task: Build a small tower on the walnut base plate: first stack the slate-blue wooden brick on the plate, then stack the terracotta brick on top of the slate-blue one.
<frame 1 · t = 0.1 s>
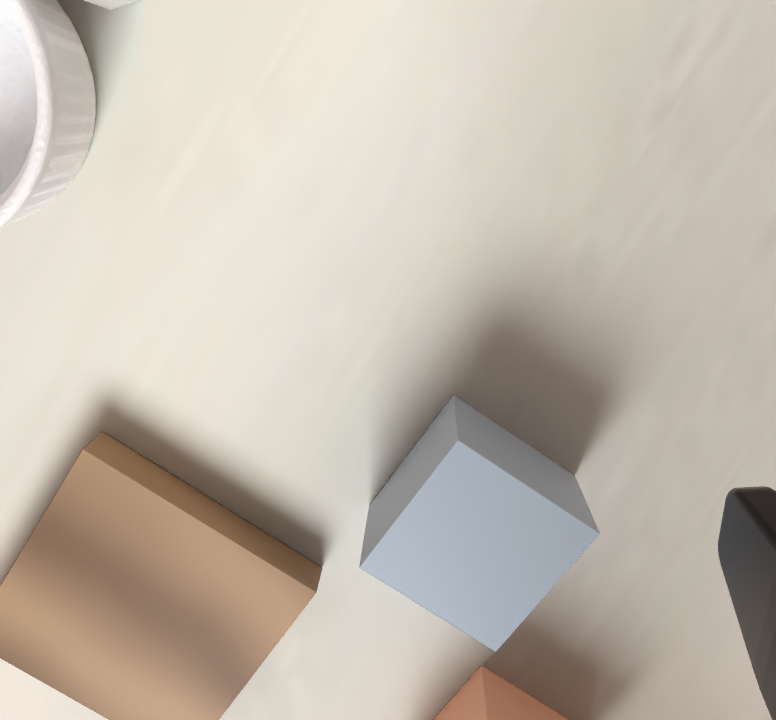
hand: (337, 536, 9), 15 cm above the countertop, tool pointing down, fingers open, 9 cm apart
slate brick: (470, 488, 26), on the countertop
base plate: (153, 591, 27), on the countertop
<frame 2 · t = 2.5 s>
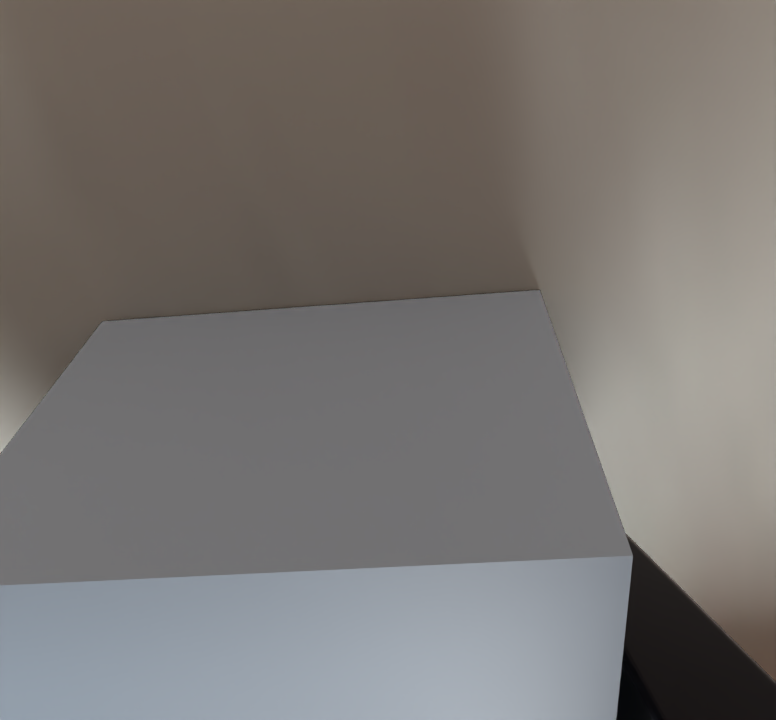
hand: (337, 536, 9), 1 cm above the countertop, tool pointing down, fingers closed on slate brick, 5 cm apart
slate brick: (343, 478, 10), on the countertop, touching gripper
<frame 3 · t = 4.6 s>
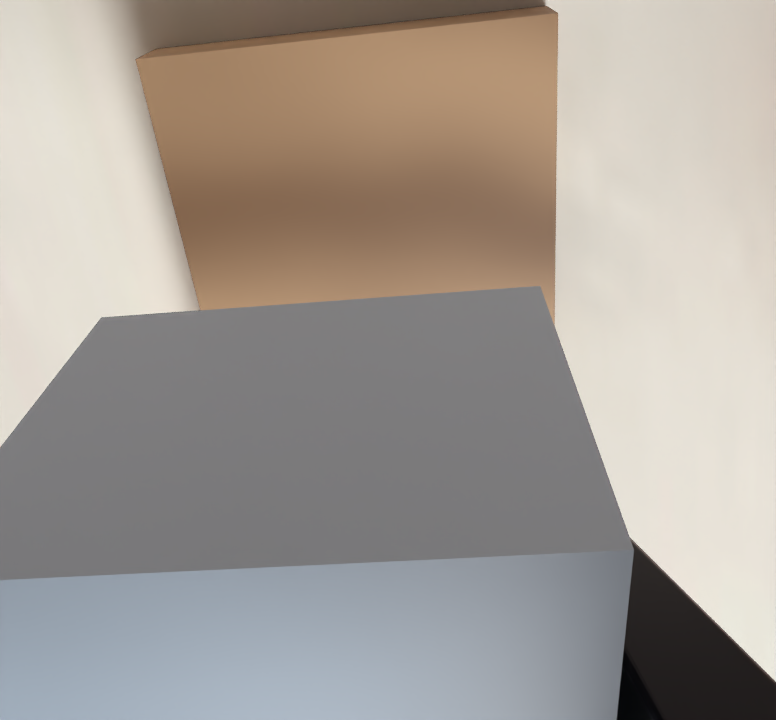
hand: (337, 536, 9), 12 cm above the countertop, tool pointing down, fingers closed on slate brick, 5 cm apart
slate brick: (343, 475, 10), point 11 cm above the countertop, touching gripper
base plate: (370, 216, 19), on the countertop
when the fingers open (3 cm above the countertop, at t = 6.6 s): slate brick stays where it is, resting on base plate.
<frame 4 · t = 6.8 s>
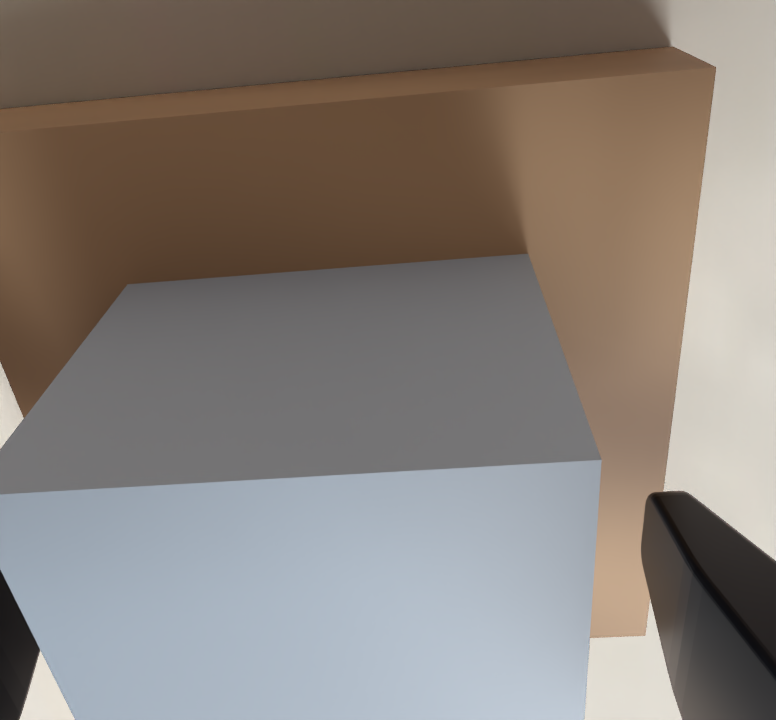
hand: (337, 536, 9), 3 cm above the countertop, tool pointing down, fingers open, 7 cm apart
slate brick: (348, 432, 10), point 1 cm above the countertop, touching base plate
base plate: (353, 378, 12), on the countertop
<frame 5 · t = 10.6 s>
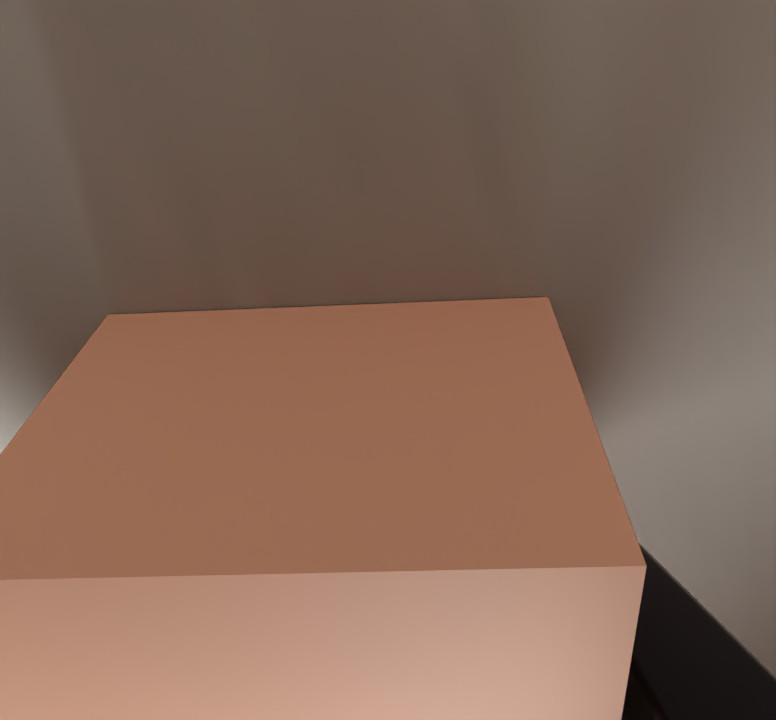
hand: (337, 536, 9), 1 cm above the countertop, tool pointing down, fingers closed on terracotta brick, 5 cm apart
terracotta brick: (343, 478, 10), on the countertop, touching gripper
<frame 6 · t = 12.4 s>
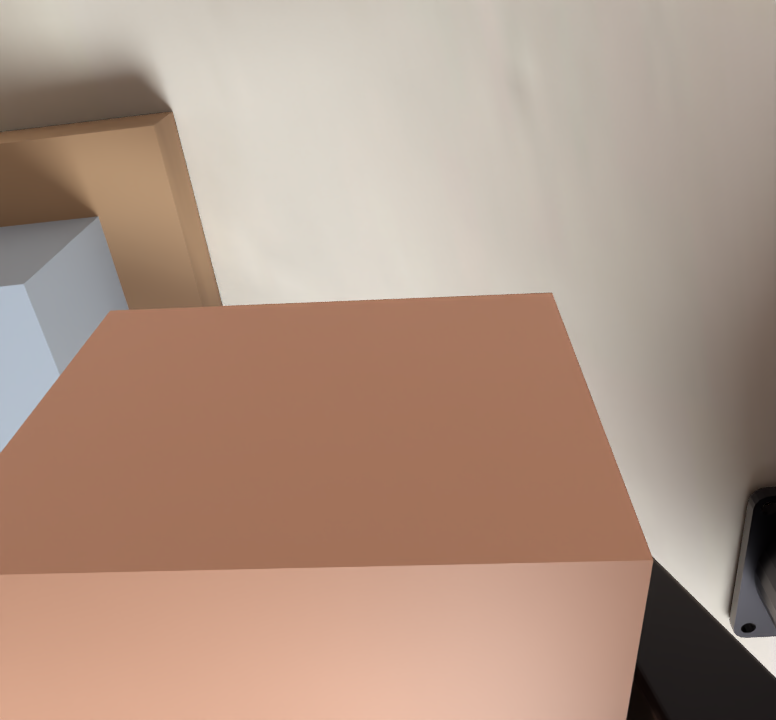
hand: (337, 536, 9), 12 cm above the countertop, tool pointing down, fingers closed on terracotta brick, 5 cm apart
slate brick: (37, 316, 20), point 1 cm above the countertop, touching base plate
base plate: (60, 293, 21), on the countertop
terracotta brick: (346, 475, 10), point 11 cm above the countertop, touching gripper
when the fingers open (7 cm above the countertop, at t = 14.4 s): terracotta brick stays where it is, resting on slate brick.
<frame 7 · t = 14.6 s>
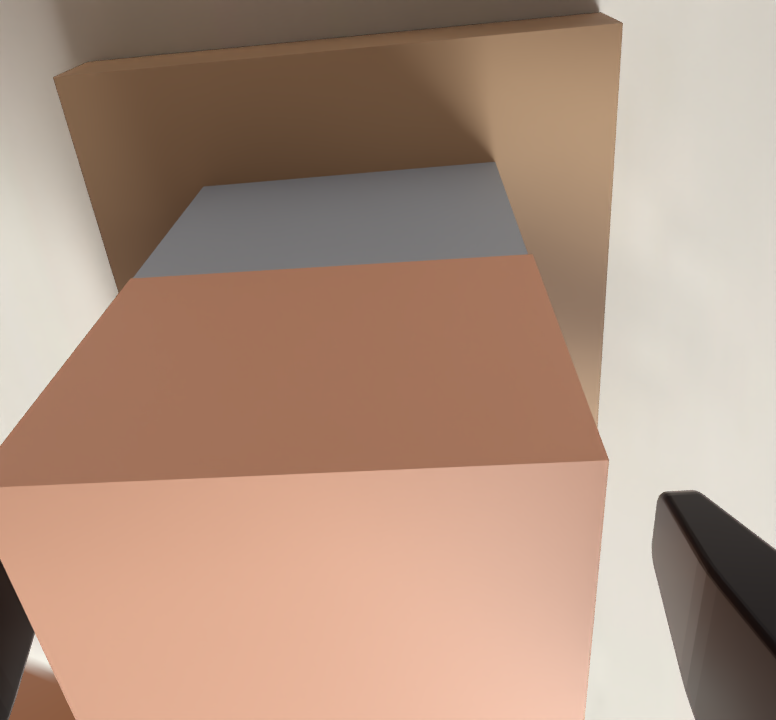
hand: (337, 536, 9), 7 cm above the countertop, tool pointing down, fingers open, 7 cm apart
slate brick: (363, 305, 14), point 1 cm above the countertop, touching base plate, terracotta brick
base plate: (365, 274, 15), on the countertop
terracotta brick: (348, 430, 10), point 5 cm above the countertop, touching slate brick
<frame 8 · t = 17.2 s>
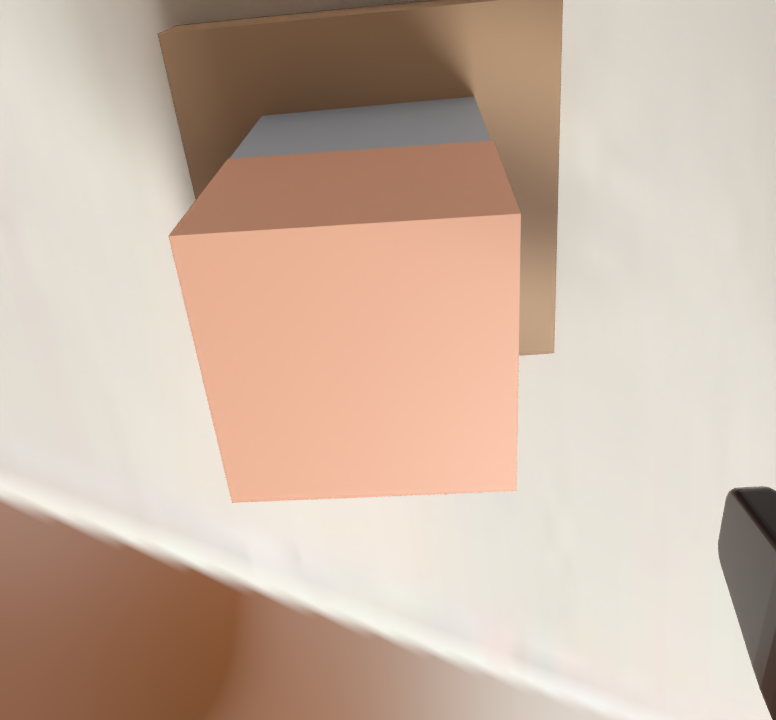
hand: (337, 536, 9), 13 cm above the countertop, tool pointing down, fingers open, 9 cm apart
slate brick: (377, 208, 19), point 1 cm above the countertop, touching base plate, terracotta brick
base plate: (378, 191, 20), on the countertop
terracotta brick: (370, 272, 15), point 5 cm above the countertop, touching slate brick
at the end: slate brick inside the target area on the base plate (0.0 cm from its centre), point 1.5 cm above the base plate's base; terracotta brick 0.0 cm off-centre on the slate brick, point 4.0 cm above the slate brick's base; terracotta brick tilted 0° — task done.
